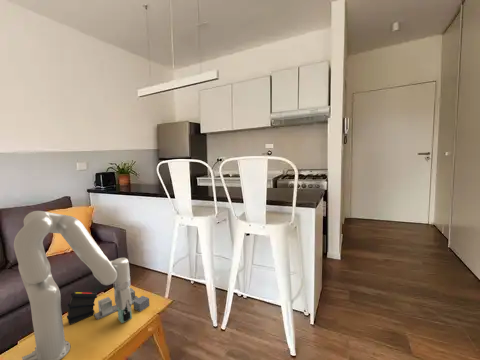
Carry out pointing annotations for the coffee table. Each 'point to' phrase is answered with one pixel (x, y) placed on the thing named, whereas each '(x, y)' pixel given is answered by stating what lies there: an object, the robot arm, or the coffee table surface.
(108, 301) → the rail
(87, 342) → the coffee table surface
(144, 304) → the gray brick
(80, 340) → the coffee table surface
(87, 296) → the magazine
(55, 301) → the robot arm
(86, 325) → the coffee table surface
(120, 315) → the block
